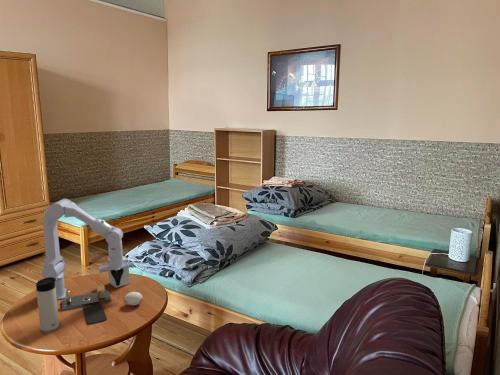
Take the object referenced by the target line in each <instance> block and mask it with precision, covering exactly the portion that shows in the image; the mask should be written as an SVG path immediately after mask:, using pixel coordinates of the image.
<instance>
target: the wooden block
mask: <svg viewBox="0 0 500 375" xmlns="http://www.w3.org/2000/svg"><path fill="white" fill-rule="evenodd" d="M105 288H106V287H105V285H100V286H96V292H97V295H98V299H100V298H106V296H105V291H106V289H105Z"/></svg>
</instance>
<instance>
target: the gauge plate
mask: <svg viewBox="0 0 500 375" xmlns="http://www.w3.org/2000/svg"><path fill="white" fill-rule="evenodd" d="M65 292H66V298H62V299H61V311H68V310H74V309H78V308H83V307H86V306H91V305H95V304H101V305H102V304H105V303H111V302H112V299H111V295H110V290H105V296H106V298H100V299H98V295H97V291H96V292H92V293H91V292H90V293H86V294H81V295H74V296H71V290H69V289H66V291H65Z"/></svg>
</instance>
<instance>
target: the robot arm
mask: <svg viewBox="0 0 500 375" xmlns="http://www.w3.org/2000/svg"><path fill="white" fill-rule="evenodd" d="M62 217H64V218H75V219H78V220H79V221H81V222H83V223H84V224H86V225H89V226H90V228H91V230H92V231H93V232H94V233H96V234H97V235H99V236H100V237H103V238H104V239H105V242H106V243H107V244H108V247H107V248H108V259H109V263H110V265H108V264H107V265H104V266H99V267H98V273H99V274H102V273H105V272H108V271H111V274H112V276H113V277H114V279H115V282H116V286H119V285H120V280H121V277H122V275H123V272H124V270H123V269H124V268H129V269H130V268H132V269H134V268H135V262H134V261H128V262H127V263H123V256H124V252H123V251H124V250H123V241H122V240H123V239H122V238H123V237H124V232H123V230H122V229H121V228H120V227H115V226H113V225H111V224H109V223H108V222H106V220H105V219H101V218H94V217H93V216H92V215H90V214H89V213H87V212H86V210H85V211H84V210H83V209H82V208H80V207H79V206H78V205H77V204H76V203H75V202H73V201H71V200H70V199H69V198H62V199H60V200H58V201H56V202H54V203H52V204H51V205H49V206H47V208H46V210H45V212H44V214H43V217H42V227H43V238H44V240H43V241H44V249H45V260H44V262H43V264H42V265H43V269H42V270H41V276H42V279H44V278H49V277H53V278H56V281H55V288H56V298H57V300H62V298H66V292H65V291H67V288H65V286H66V285H65V275H64V271H65V270H66V267H67V266H66V262H65V261H64V257H63V256H62V255H61V251H60V241H59V231H58V221H59V220H60V219H61V218H62Z"/></svg>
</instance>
